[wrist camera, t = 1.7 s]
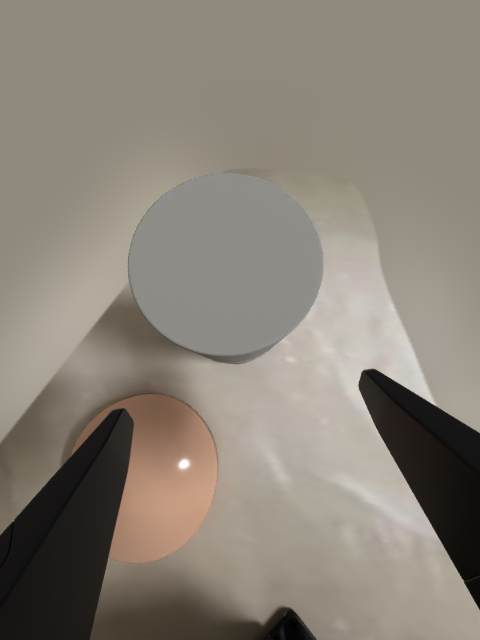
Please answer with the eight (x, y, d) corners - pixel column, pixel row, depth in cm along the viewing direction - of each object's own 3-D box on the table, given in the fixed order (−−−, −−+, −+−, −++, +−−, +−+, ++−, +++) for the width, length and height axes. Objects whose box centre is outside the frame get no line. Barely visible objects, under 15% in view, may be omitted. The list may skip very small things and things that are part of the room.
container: (199, 333, 20) (80, 246, 5) (240, 299, 21) (237, 134, 6) (234, 375, 19) (209, 411, 5) (275, 339, 20) (374, 267, 5)
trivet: (247, 473, 18) (247, 481, 17) (133, 586, 17) (125, 603, 15) (160, 365, 19) (154, 365, 18) (49, 460, 18) (36, 467, 17)
